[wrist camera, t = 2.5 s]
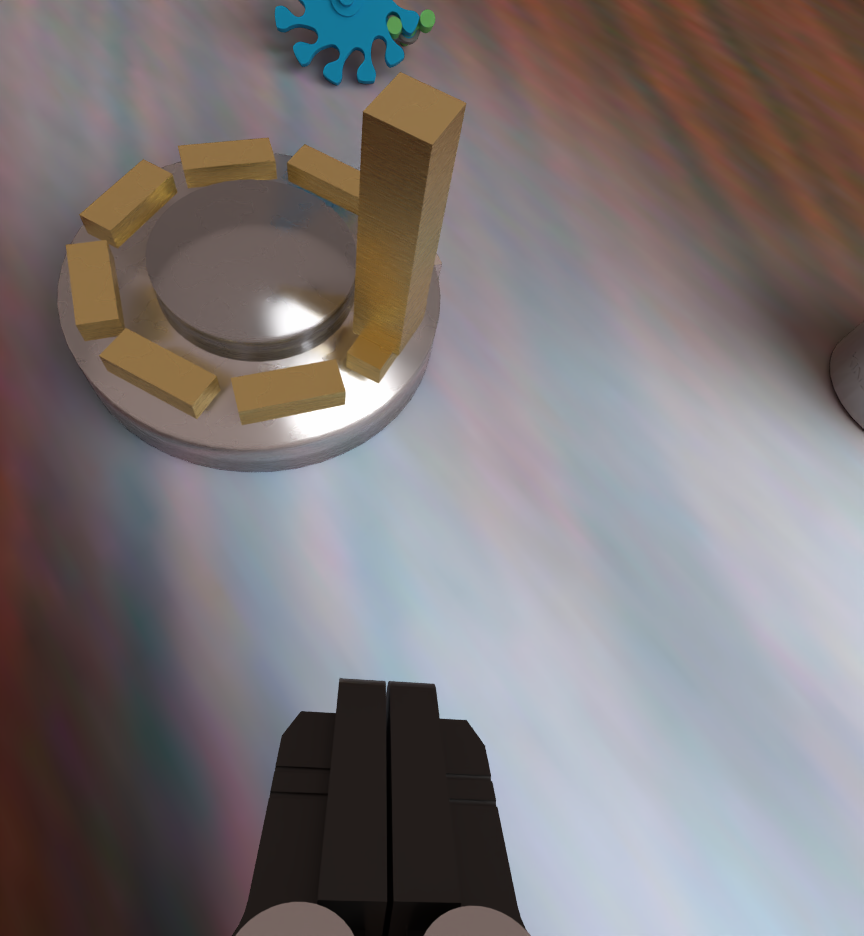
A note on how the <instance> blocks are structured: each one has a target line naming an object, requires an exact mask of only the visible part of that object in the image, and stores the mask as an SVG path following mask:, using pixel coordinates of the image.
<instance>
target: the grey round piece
mask: <svg viewBox="0 0 864 936" xmlns="http://www.w3.org/2000/svg"><path fill="white" fill-rule="evenodd" d="M273 154H274V153H273ZM274 157H275V161H276V172H277V179H271V180H254V179H247V180H233V181H225V182H221V183H216V184H212V185H209V186H205V187H195V188H188V187H187V183H186V179H185V174H184V170H183V166H182V162H178V163H175V164H172V165H168V166H165V167H163V168H162V169H164V170H166V171H168V172H170V173H171V174H173V178H174V182H175V185H176V189H177V194H176V195H175V196H173V197H172V198H171V199H170V200H169V201H168V202H167V203H166V204H165V205H164V206H163V207H162V208H161V209H160V210H158V211H157V212H156V213H155V214H154V215H153V216H152V217H151V218H150V219H149V220H148V221H147V222H146V223H145V224H144V225H142V226H141V227H140V228H139V229H138V230H137V231H136V232H135V233H134V234H133V235H132V236H131V237H130V238H129V239H127V240H126V241H125V242H124V243H123V244H122V245H121V246H120V247H119V248H118V249H117V248H115V247H113V246H111V245H110V244H108V245H109V247H110V250H111V252H112V254H113V257H114V261H115V267H116V274H117V280H118V286H119V292H120V299H121V305H122V311H123V318H124V324H125V328H127V329H129V330H131V331H133V332H135V333H137V334H139V335H140V336H142V337H144V338H146V339H148V340H150V341H152V342H154V343H155V344H157V345H159V346H161V347H163V348H165V349H167V350H169V351H171V352H172V353H174V354H176V355H178V356H180V357H182V358H184V359H186V360H188V361H189V362H191V363H193V364H195V365H197V366H199V367H201V368H203V369H204V370H206V371H208V372H210V373H212V374H214V375H216V376H217V379H218V382H219V386H220V389H221V391H220V392H219V393H218V394H217V396H216V397H215V398H214V399H213V400H212V402H211V403H210V404H209V405H208V407H207V408H206V409H205V410H204V411H203V413H202V414H201V415H200V416H199V417H198V419H196V418H194V417H192V416H190V415H188V414H186V413H184V412H183V411H181V410H179V409H177V408H175V407H173V406H171V405H170V404H168V403H166V402H164V401H162V400H160V399H158V398H157V397H155V396H153V395H151V394H149V393H147V392H145V391H144V390H142V389H140V388H138V387H136V386H134V385H132V384H131V383H129V382H127V381H125V380H123V379H121V378H119V377H118V376H116V375H114V374H112V373H110V372H108V371H107V369H106V368H105V366H104V364H103V362H102V360H101V359H100V357H99V355H100V354H101V353H102V352H103V351H104V350H105V349H106V348H107V347H108V346H109V345H110V344H111V343H112V342H113V341H114V340H115V339H116V338H117V337H118V336H115V337H109V338H103V339H96V340H90V341H84V339H83V337H82V335H81V334H80V332H79V330H78V328H77V327H76V324H75V315H74V307H73V299H72V291H71V283H70V275H69V267H68V258H67V254H66V256H65V259H64V261H63V264H62V268H61V273H60V278H59V282H58V311H59V317H60V324H61V327H62V330H63V333H64V336H65V339H66V342H67V345H68V347H69V348H70V350H71V352H72V354H73V356H74V357H75V359H76V361H77V363H78V365H79V366H80V368H81V369H82V371H83V373H84V374H85V376H86V377H87V379H88V381H89V382H90V384H91V386H92V387H93V389H94V390H95V392H96V394H97V395H98V397H99V398H100V400H101V401H102V402H103V404H104V405H105V406H106V407H107V409H108V410H109V411H110V412H111V414H112V415H113V416H114V417H115V418H116V419H117V420H118V421H119V422H121V423H122V424H123V425H124V426H125V427H126V428H127V429H128V430H129V431H130V432H132V433H133V434H135V435H136V436H138V437H139V438H141V439H142V440H143V441H145V442H146V443H148V444H149V445H151V446H153V447H155V448H157V449H159V450H161V451H163V452H165V453H167V454H169V455H171V456H174V457H177V458H179V459H182V460H185V461H188V462H191V463H194V464H197V465H202V466H206V467H211V468H215V469H220V470H229V471H239V472H273V471H281V470H289V469H296V468H300V467H304V466H308V465H312V464H316V463H320V462H323V461H326V460H328V459H331V458H334V457H336V456H339V455H342V454H344V453H346V452H348V451H350V450H352V449H353V448H355V447H357V446H359V445H361V444H363V443H365V442H366V441H367V440H369V439H370V438H372V437H373V436H375V435H376V434H377V433H379V432H380V431H382V430H383V429H384V428H385V427H386V426H387V425H388V424H389V423H390V422H391V421H393V420H394V419H395V418H396V417H397V416H398V415H399V414H400V412H401V411H402V410H403V409H404V407H405V406H406V405H407V404H408V402H409V401H410V400H411V398H412V397H413V395H414V393H415V392H416V390H417V388H418V387H419V385H420V383H421V381H422V378H423V376H424V373H425V371H426V368H427V366H428V361H429V357H430V353H431V349H432V344H433V340H434V336H435V331H436V327H437V322H438V318H439V311H440V288H439V276H440V271H441V267H442V262H441V261H440V259H439V257H438V255H437V253H436V257H435V262H434V267H433V272H432V277H431V282H430V287H429V292H428V297H427V305H426V310H425V315H424V318H423V321H422V322H421V324H420V325H419V327H418V328H417V330H416V331H415V333H414V334H413V336H412V337H411V338H410V340H409V341H408V343H407V344H406V346H405V347H404V349H403V350H402V352H401V353H400V355H399V356H397V358H396V359H395V361H394V362H393V363H392V365H391V366H390V368H389V369H388V371H387V372H386V374H385V375H384V377H383V378H382V380H381V381H380V383H379V384H378V383H376V382H374V381H372V380H370V379H368V378H366V377H364V376H363V375H361V374H359V373H357V372H355V371H353V370H351V369H349V368H347V367H346V360H347V351H348V350H349V349H350V347H351V346H352V345H353V343H354V342H355V341H356V339H357V338H358V336H359V335H357V334H355V333H353V315H354V293H355V272H356V251H357V230H358V215H356V214H354V213H352V212H350V211H348V210H346V209H344V208H342V207H340V206H338V205H336V204H334V203H332V202H330V201H328V200H326V199H324V198H322V197H320V196H318V195H316V194H314V193H312V192H310V191H308V190H306V189H304V188H302V187H300V186H298V185H296V184H294V183H292V182H290V181H288V172H287V162H288V161H289V160H290V159H291V158H292V157H293V156H287V155H281V154H274ZM93 241H101V240H100V239H98V238H96V237H94V236H92V235H90V234H88V233H87V230H86V228H85V226H84V224H83V226H82V227H81V228H80V230H79V231H78V233H77V235H76V236H75V238H74V240H73V241H72V243H71V244H76V243H85V242H93ZM333 359H336V361H337V364H338V367H339V370H340V374H341V377H342V380H343V384H344V387H345V390H346V401H345V405H342V406H337V407H332V408H327V409H322V410H317V411H312V412H307V413H302V414H297V415H292V416H287V417H282V418H277V419H272V420H267V421H262V422H257V423H252V424H246V425H242V424H241V421H240V417H239V413H238V409H237V404H236V400H235V395H234V391H233V387H232V382H231V378H233V377H239V376H244V375H250V374H255V373H261V372H266V371H272V370H278V369H283V368H289V367H294V366H300V365H305V364H311V363H316V362H322V361H327V360H333Z"/></svg>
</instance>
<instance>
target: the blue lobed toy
mask: <svg viewBox="0 0 864 936" xmlns="http://www.w3.org/2000/svg"><path fill="white" fill-rule="evenodd" d="M299 1H300V3H301V4H302V5H303V6H304V7H305V13H304V15H303V16H301V17H296V16H294V15H293V14H292V13H291V12H290V11H289V10H288V9H287V8H286V7H284V6H277V7H276V9H275V21H276V26H277V30H278V31H280V32H288V31H289V30H291V29H294V28H306V29H309V30H312V31H314V32H316V34H317V35H318V40H317V42H316V43H314V44H308V43H305V42H297V43H296V44H295V45H294V46H293V50H294V54H295V56H296V58H297V60H298V62H299V63H300V65H301V66H302V67H306V66H308V65H309V64H310V63H311V61H312V59H313V57H314V56H315V55H316V54H317V53H318V52H320V51H321V50H324V49H327V48H330V47H334V48H336V49H337V50H338V51H339V54H340V56H339V58H338V60H337V61H334V62H330V63H328V64H327V65H326V66H325V67H324V70H323V76H324V77H325V78H326V79H327V80H328V81H329V82H331V83H332V84H335V85H339V84H340V83H341V81H342V70H343V66H344V63H345V61H346V59H347V58H348V57H349V55H350V54H351V53H352V52H353V51H355V50H358V51H361V52H362V53H363V55H364V58H365V60H364V62H363V63H362V64H361V65H360V66H359V68H358V70H357V80H358V82H359V83H363V84H372V83H374V82H375V78H376V72H375V69H374V67H373V64H372V61H371V47H372V43H373V41H374V40H375V39H382V40H383V41H384V42H385V44H386V53H385V62H386V64H387V66H388V67H389V68H391V67H394V66H396V65H398V64H399V63H400V62H401V61H403V59H404V51H403V49H402V48H401V47H400V46H399V45H397V44H396V43H395V42H394V41H393V40H395V41H397V42H400V43H401V45H403V46H407V45H410V44H413V43H414V42H415V41H416V40H417V39H418V36H419V34H420V31H422V32H423V33H428V32H430V31H431V29H432V27H433V25H434V23H435V15H434V13H433V12H432V11H431V10H424V11H423V12H422V13H421V16H420V17H419V15H418V14H417V13H416V12H415V11H411V10H405V9H403V8H401V7H399V6H398V5H396V4H395V3H394V1H393V0H299Z"/></svg>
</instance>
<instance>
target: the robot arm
mask: <svg viewBox="0 0 864 936" xmlns="http://www.w3.org/2000/svg"><path fill="white" fill-rule="evenodd" d="M830 376H831V379H832V383H833V386H834V389H835V391H836V393H837V395H838V397H839V399H840V401H841V403H842V404H843V406H844V407H845V409H846V410H847V411H848V413H849V414H850V416H851V417H852V418H853V419H854V420H855V421H856V422H857V423H858V424H859V425H860V426H861V427H862V428H863V429H864V321H863V322H862V323H861V324H860V325H858V326H857V327H856V328H855V329H854V330H853V331H851V332H850V333H849V334H848V335H847V336H846V337H844V338H843V339H842V340H841V341H840V342H839V343H838V344H837V345H836V347H835V349H834V350H833V352H832V356H831V361H830ZM232 936H530V934H529V933H528V932H527V930H526V929H525V926H524V924H523V922H522V919H521V917H520V913H519V910H518V906H517V901H516V896H515V891H514V887H513V882H512V877H511V872H510V867H509V862H508V857H507V852H506V847H505V842H504V837H503V832H502V827H501V823H500V818H499V813H498V808H497V807H496V798H495V793H494V788H493V783H492V781H491V773H490V768H489V764H488V759H487V754H486V749H485V745H484V744H483V742H482V741H481V740H480V738H479V737H478V735H477V734H476V733H475V731H474V730H473V728H472V727H471V726H470V724H469V723H468V721H467V720H453V719H440V718H439V710H438V702H437V693H436V687H435V684H427V683H411V682H395V681H389V682H388V686H387V693H386V683H385V681H375V680H359V679H343V678H340V679H339V689H338V699H337V709H336V713H323V712H305V711H301V712H300V713H299V715H298V716H297V717H296V718H295V720H294V721H293V722H292V723H291V725H290V726H289V727H288V729H287V730H286V731H285V732H284V734H283V735H282V738H281V742H280V747H279V752H278V757H277V762H276V768H275V772H274V777H273V781H272V786H271V791H270V798H269V801H268V806H267V811H266V815H265V820H264V825H263V830H262V835H261V840H260V845H259V850H258V854H257V859H256V864H255V869H254V874H253V879H252V884H251V889H250V893H249V898H248V902H247V906H246V909H245V912H244V915H243V917H242V919H241V921H240V924H239V925H238V927H237V928H236V930H235V932H234V933H233V935H232Z"/></svg>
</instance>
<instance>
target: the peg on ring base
mask: <svg viewBox="0 0 864 936" xmlns="http://www.w3.org/2000/svg"><path fill="white" fill-rule="evenodd" d="M465 107H466V103H465V102H463V101H461V100H459V99H456V98H454V97H452V96H450V95H448V94H446V93H444V92H442V91H439V90H437V89H435V88H433V87H431V86H429V85H427V84H425V83H422V82H420V81H418V80H416V79H414V78H412V77H410V76H408V75H405V74H403V73H401V72H400V73H399V74H398V75H397V76H396V77H395V78H394V79H393V80H392V81H391V82H390V83H389V85H388V86H387V87H386V88H385V89H384V90H383V91H382V92H381V93H380V94H379V95H378V96H377V97H376V98H375V99H374V100H373V102H372V103H371V104H370V105H369V106H368V107H367V108H366V109H365V110H364V111H363V123H362V145H361V166H360V171H359V170H357V169H355V168H352V167H350V166H348V165H346V164H344V163H342V162H340V161H338V160H336V159H334V158H332V157H330V156H328V155H326V154H324V153H322V152H320V151H318V150H316V149H314V148H312V147H309V146H307V145H305V144H304V145H303V146H302V147H301V148H300V149H299V151H298V152H297V153H296V154H295V155H294V156H293V157H292V158H291V159H290V160H289V161H288V162H287V172H288V181H290V182H292V183H294V184H296V185H298V186H300V187H302V188H304V189H306V190H308V191H310V192H312V193H314V194H316V195H318V196H320V197H322V198H324V199H326V200H328V201H330V202H332V203H334V204H336V205H338V206H340V207H342V208H344V209H346V210H348V211H350V212H352V213H354V214H356V215H358V230H357V251H356V272H355V293H354V315H353V333H355V334H357V335H359V336H358V338H357V339H356V341H355V342H354V343H353V345H352V346H351V347H350V349H349V350H348V351H347V360H346V367H347V368H349V369H351V370H353V371H355V372H357V373H359V374H361V375H363V376H364V377H366V378H368V379H370V380H372V381H374V382H376V383H378V384H379V383H380V381H381V380H382V378H383V377H384V375H385V374H386V372H387V371H388V369H389V368H390V366H391V365H392V363H393V362H394V361H395V359H396V358H397V356H399V355H400V353H401V352H402V350H403V349H404V347H405V346H406V344H407V343H408V341H409V340H410V338H411V337H412V336H413V334H414V333H415V331H416V330H417V328H418V327H419V325H420V324H421V322H422V321H423V318H424V315H425V310H426V305H427V297H428V292H429V287H430V282H431V277H432V272H433V267H434V262H435V257H436V252H437V247H438V242H439V237H440V232H441V227H442V222H443V217H444V212H445V207H446V202H447V197H448V192H449V187H450V182H451V177H452V172H453V167H454V162H455V157H456V152H457V147H458V142H459V137H460V132H461V127H462V122H463V117H464V112H465ZM178 148H179V153H180V157H181V162H182V166H183V170H184V174H185V179H186V183H187V187H188V188H195V187H205V186H209V185H212V184H216V183H221V182H225V181H233V180H247V179H254V180H271V179H277V172H276V161H275V157H274V154H273V151H272V148H271V144H270V141H269V138H260V139H248V140H237V141H226V142H215V143H203V144H192V145H181V146H178ZM176 194H177V189H176V185H175V182H174V178H173V174H171V173H170V172H168V171H166V170H164V169H162V168H160V167H158V166H156V165H154V164H152V163H150V162H148V161H146V160H144V159H143V160H142V161H141V162H140V163H138V164H137V165H136V166H135V167H134V168H133V169H131V170H130V171H129V172H128V173H127V174H126V175H125V176H123V177H122V178H121V179H120V180H119V181H118V182H116V183H115V184H114V185H113V186H112V187H111V188H110V189H108V190H107V191H106V192H105V193H104V194H103V195H101V196H100V197H99V198H98V199H97V200H96V201H95V202H93V203H92V204H91V205H90V206H89V207H88V208H86V209H85V210H84V211H83V212H82V213H81V214H79V215H80V217H81V219H82V222H83V224H84V226H85V228H86V230H87V233H88V234H90V235H92V236H94V237H96V238H98V239H100V240H101V241H93V242H85V243H76V244H68V245H66V250H67V258H68V267H69V275H70V283H71V291H72V299H73V307H74V315H75V324H76V327H77V328H78V330H79V332H80V334H81V335H82V337H83V339H84V341H90V340H96V339H103V338H109V337H115V336H118V337H117V338H116V339H115V340H114V341H113V342H112V343H111V344H110V345H109V346H108V347H107V348H106V349H105V350H104V351H103V352H102V353H101V354H100V355H99V357H100V359H101V360H102V362H103V364H104V366H105V368H106V369H107V371H108V372H110V373H112V374H114V375H116V376H118V377H119V378H121V379H123V380H125V381H127V382H129V383H131V384H132V385H134V386H136V387H138V388H140V389H142V390H144V391H145V392H147V393H149V394H151V395H153V396H155V397H157V398H158V399H160V400H162V401H164V402H166V403H168V404H170V405H171V406H173V407H175V408H177V409H179V410H181V411H183V412H184V413H186V414H188V415H190V416H192V417H194V418H196V419H198V417H199V416H200V415H201V414H202V413H203V411H204V410H205V409H206V408H207V407H208V405H209V404H210V403H211V402H212V400H213V399H214V398H215V397H216V396H217V394H218V393H219V392H220V391H221V389H220V386H219V382H218V379H217V376H216V375H214V374H212V373H210V372H208V371H206V370H204V369H203V368H201V367H199V366H197V365H195V364H193V363H191V362H189V361H188V360H186V359H184V358H182V357H180V356H178V355H176V354H174V353H172V352H171V351H169V350H167V349H165V348H163V347H161V346H159V345H157V344H155V343H154V342H152V341H150V340H148V339H146V338H144V337H142V336H140V335H139V334H137V333H135V332H133V331H131V330H129V329H127V328H125V324H124V318H123V311H122V305H121V299H120V292H119V286H118V280H117V274H116V267H115V261H114V257H113V254H112V252H111V250H110V247H109V245H108V244H110V245H111V246H113V247H115V248H117V249H118V248H119V247H120V246H121V245H122V244H123V243H124V242H125V241H126V240H127V239H129V238H130V237H131V236H132V235H133V234H134V233H135V232H136V231H137V230H138V229H139V228H140V227H141V226H142V225H144V224H145V223H146V222H147V221H148V220H149V219H150V218H151V217H152V216H153V215H154V214H155V213H156V212H157V211H158V210H160V209H161V208H162V207H163V206H164V205H165V204H166V203H167V202H168V201H169V200H170V199H171V198H172V197H173V196H175V195H176ZM231 382H232V387H233V391H234V395H235V400H236V404H237V409H238V413H239V417H240V421H241V424H242V425H246V424H252V423H257V422H262V421H267V420H272V419H277V418H282V417H287V416H292V415H297V414H302V413H307V412H312V411H317V410H322V409H327V408H332V407H337V406H342V405H345V401H346V390H345V387H344V384H343V380H342V377H341V374H340V370H339V367H338V364H337V361H336V359H333V360H327V361H322V362H316V363H311V364H305V365H300V366H294V367H289V368H283V369H278V370H272V371H266V372H261V373H255V374H250V375H244V376H239V377H233V378H231Z"/></svg>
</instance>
